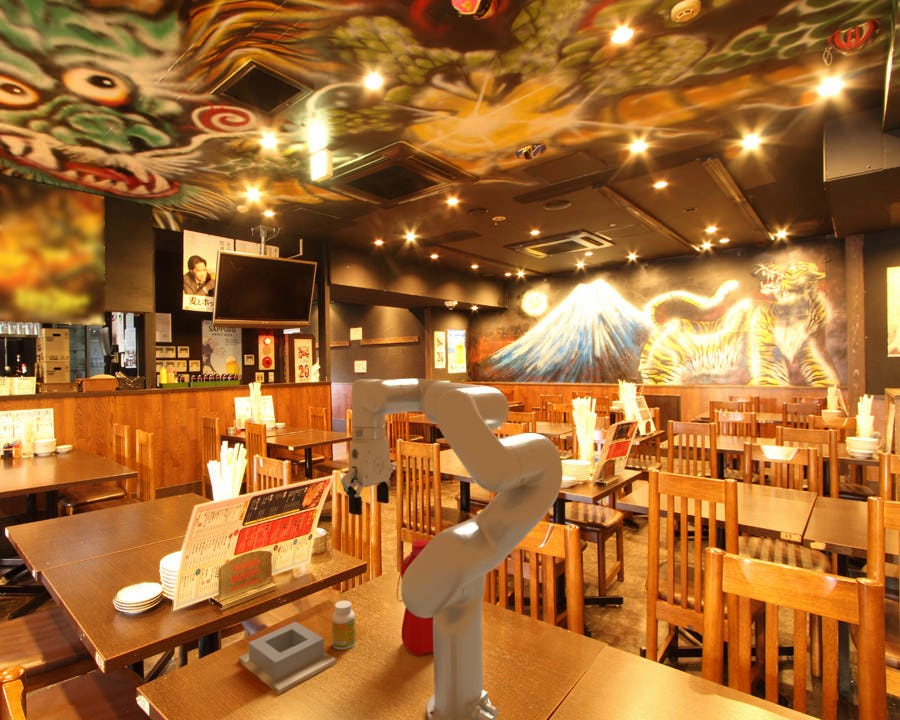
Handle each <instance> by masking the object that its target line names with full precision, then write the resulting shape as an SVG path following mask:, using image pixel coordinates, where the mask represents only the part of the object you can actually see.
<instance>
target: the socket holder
mask: <svg viewBox="0 0 900 720" xmlns="http://www.w3.org/2000/svg"><path fill="white" fill-rule="evenodd" d="M291 646H293V647H292V648H290V649H288V650H286V651H283V650H285V649H287V648H289V647H291ZM281 651H283V652H281ZM280 652H281V653H280ZM324 652H325V638H324V637H322V636H320V635H319V634H317V633H315V632H313V631H312V630H310V629H309V628H307V627H305V626H304V625H303V624H300V623H299V622H297V621H293V622H292V623H289V624H287V625H285V626H283V627H280V628H277V629H276V630H274V631H271V632H269V633H267V634H265V635H262V636H260V637H258V638H256V639H254V640H250V641H249V642H248V653H249V660H250V661H251V662H252V663H253V664H255V665H256V666H257V667H258V668H260V669H261V670H262V671H263V672H265V673H266V674H267V675H269V676H270V677H271V678H272V679H274V680H275V681H278V680H280V679H282V678H284V677H285V676H287V675H289V674H291V673H293V672H295V671H297V670H299V669H301V668H303V667H304V666H306V665H308V664H310V663H312V662H314V661H316V660H318V659H320V658H321V657H323V656H324Z"/></svg>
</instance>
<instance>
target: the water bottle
mask: <svg viewBox="0 0 900 720" xmlns="http://www.w3.org/2000/svg"><path fill="white" fill-rule="evenodd" d="M429 542H430V541H429V540H428V539H416V540H414V541H412V543H411V552H410V553H409V554H408V555H407V556H406V557H405V558H404V559H403V561H402V562H401V568H400V574H399V577H398V581H397V588H396V598H397V600H398V602H400V603H401V602H403V599H401V600H399V595H398V592H399V586H400V580H402V578H403V575H404V573H405V571H406V570H407V568H408V567H409V565H410V564H411V563H412V562H413V561H414V559H415V558H416V557H417V556H418V555H419V553H420V552H421V551H422V550H423V549H424V548H425V546H426V545H427V544H428V543H429ZM401 640H402V644H403V646H404V647H405V648H406V650H407V652H409V653H410V654H411V655H412V656H413V655H415V656H420V657H421V656H424V655H427V654H428V655H429V654H430V653H433V617H430V618H421V617H417V616H415V615H414V614H412V613H411V612H410V611H409V610H408V609H407V608H406V606H405V608H404V614H403V618H402V624H401Z"/></svg>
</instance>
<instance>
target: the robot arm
mask: <svg viewBox="0 0 900 720" xmlns="http://www.w3.org/2000/svg"><path fill="white" fill-rule="evenodd" d="M409 412H411V413H412V412H419V413H420V412H421V413H424V416H425V417H426V419H427V420H428V421H429V422H430V423H432V424H434V425H437V427H438V429H439V430H440V432H441V434H442V436H443V438H444V439H445V440H446V443H448V445H449V447H450V448H451V450H452V451H453V453H454V454H455V455H456V456H457V458H458V460H459V461H460V462H461V464H462V465H463V467H464V468H465V470H466V471H467V473H468V474H469V476H470V477H471V478H472V480H473V481H474V482H475V483H476V484H477V485H478V486H479V487H480V488H482V489H483V490H485V491H487V492H489V493H494V494H495V493H496V494H495V496H494V497H493V498H492V499H491V500H490V501H489V503H488V504H486V506H485V507H484V508H483V509H482V510H481V511H480V512H479V513H478V514H476V516H474V517H472V518H469V519H467V520H465V521H462V522H460V523H457V524H455V525H452V526H450V527H448V528H446V529H443V530H442V531H440V532H439V533H437V534H436V535H435V536H434V537H433V538H432V539H431V540H430V541H429V543H428V544H427V545H426V546H425V548H424V549H423V550H422V551H421V552H420V553H419V555H418V556H417V557H416V558H415V559H414V561H413V562H412V563H411V564H410V565H409V567H408V568H407V570H406V571H405V573H404V575H403V578H402V579H401V584H400V592H401V593H400V594H401V598H402V599H403V601H402V602H403V604H404V606H405V607H406V608H407V609H408V610H409V611H410V612H411V613H412V614H414V615H415V616H417V617H421V618H430V617H433V652H432V653H433V683H434V685H433V686H434V689H433V690H434V692H433V693H434V694H433V695H432V696H431V697H430V698H429V700H427V704H426V716H427V720H497V716H498V714H499V709H498V708H497V707H496V706H494V705H492V703H491V700H490V698H489V696H488V695H489V694H488V691H486V690H484V671H483V670H484V669H483V668H484V667H483V665H484V664H483V663H484V662H483V660H484V657H483V600H484V594H485V588H486V580H487V577H486V575H487V574H489V573H490V572H491V571H493V570H494V569H496V568H498V567H499V566H500V565H501V564H502V563H503V562H504V560H505V559H506V558H507V557H508V556H509V555H510V554H511V553H512V552H513V550H515V548H517V547H518V545H520V543H521V542H522V541H523V540H525V538H526V537H527V535H529V533H530V532H531V531H533V529H534V528H536V526H537V525H538V524H540V522H541V521H542V520H543V519H544V518H545V517H546V515H547V514H548V512H549V511H550V510H551V508H553V506H554V504H555V502H556V500H557V499H558V496H559V493H560V490H561V487H562V482H563V464H562V459H561V455H560V452H559V450H558V448H557V446H556V445H555V443H554V442H553V441H552V440H551V439H550V438H549V437H547V436H545V435H543V434H539V433H536V432H534V433H532V432H523V433H518V434H513V435H508V436H504V437H499V438H498V437H497V436H496V434H495V433H494V432H493V431H495V430H497V429H498V428H500V427H501V426H503V424H505V422H506V421H507V419H508V417H509V414H510V405H509V402H508V399H507V397H506V396H505V394H504V393H503V392H502V391H500V390H499V389H497V388H495V387H492V386H488V385H481V384H480V385H479V384H473V383H471V384H470V383H460V382H459V383H458V382H447V381H442V380H435V379H424V378H413V377H412V378H411V377H410V378H393V379H378V378H362V379H356V380H354V381H353V383H352V384H351V418H352V419H351V422H352V423H351V427H352V428H351V431H352V432H351V437H352V440H351V443H350V450H349V456H348V457H349V458H348V472H346V474H345V475H344V476H343V477H342V478H341V480H340V483H341V485H342V487H343V491H344V492H345V494H346V496H347V497H348V513H349V514H351V515H354V516H355V515H356V516H361V515H362V511H363V510H362V507H363V506H362V501H363V500H362V499H363V498H362V496H361V493H362V491H363V488H370V487H373V486H375V485H376V501H377V503H382V504H385V505H386V504H389V502H390V494H389V493H390V488H389V487H390V485H391V480H392V478H393V472H394V469H395V464H394V463H392V462H391V452H390V451H391V450H390V445H389V440H388V437H386V434H387V433H386V429H387V428H386V426H387V425H386V416H387V415H395V414H401V413H409ZM355 487H356V488H355ZM402 599H401V600H402Z"/></svg>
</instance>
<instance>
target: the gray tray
mask: <svg viewBox="0 0 900 720" xmlns="http://www.w3.org/2000/svg"><path fill="white" fill-rule="evenodd" d="M292 647H293V646H291V647H289V648H287V649H285V650H283V651H286V650H288V649H290V648H292ZM283 651H281V652H283ZM281 652H280V653H281ZM336 660H337V659H336V658H335V657H333V656H332V655H331V654H328V652H325V651H324V656H323V657H321V658H320V659H318V660H316V661H314V662H312V663H310V664H308V665H306V666H304V667H303V668H301V669H299V670H297V671H295V672H293V673H291V674H289V675H287V676H285V677H284V678H282V679H280V680H278V681H275V680H274V679H272V678H271V677H270V676H269V675H267V674H266V673H265V672H263V671H262V670H261V669H260V668H258V667H257V666H256V665H255V664H253V663H252V662H251V661H250V660H249V652H247V653H244V654H242V655H239V656H238V662H239V663H240V664H241V665H242V666H244V667H245V668H246V669H247V670H249V671H250V672H251V673H252V674H253V675H255V676H256V677H257V678H258V679H260V680H261V681H262V682H263V683H264V684H266V685H267V686H268V687H269V686H270V687H269V688H270V689H271V690H273V691H274V692H275V693H276V694H278V695H280V694H282V693H284V691H285V692H286V691H288V690H290V689H292V688H294V687H295V686H297V685H299V684H301V683H302V682H304V681H306V680H308V679H310V678H311V677H314V676H316V675H318V674H319V673H321V672H323V671H324V670H327V669H328V668H330V667H332V666H334V665H335V664H336V663H337V661H336Z"/></svg>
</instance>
